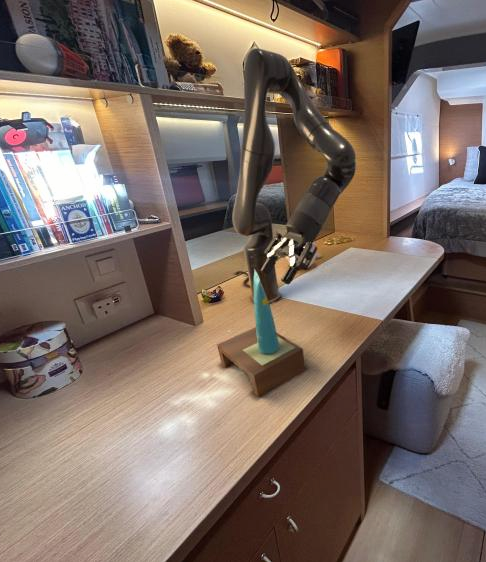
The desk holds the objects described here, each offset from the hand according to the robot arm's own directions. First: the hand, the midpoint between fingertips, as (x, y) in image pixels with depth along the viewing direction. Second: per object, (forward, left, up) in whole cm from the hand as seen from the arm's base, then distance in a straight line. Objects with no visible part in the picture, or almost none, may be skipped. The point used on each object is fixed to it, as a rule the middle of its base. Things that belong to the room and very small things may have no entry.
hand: (274, 278), depth 77 cm
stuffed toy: (-52, +47, -23) cm, 74 cm away
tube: (0, -4, -17) cm, 18 cm away
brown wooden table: (-3, -5, -23) cm, 24 cm away
